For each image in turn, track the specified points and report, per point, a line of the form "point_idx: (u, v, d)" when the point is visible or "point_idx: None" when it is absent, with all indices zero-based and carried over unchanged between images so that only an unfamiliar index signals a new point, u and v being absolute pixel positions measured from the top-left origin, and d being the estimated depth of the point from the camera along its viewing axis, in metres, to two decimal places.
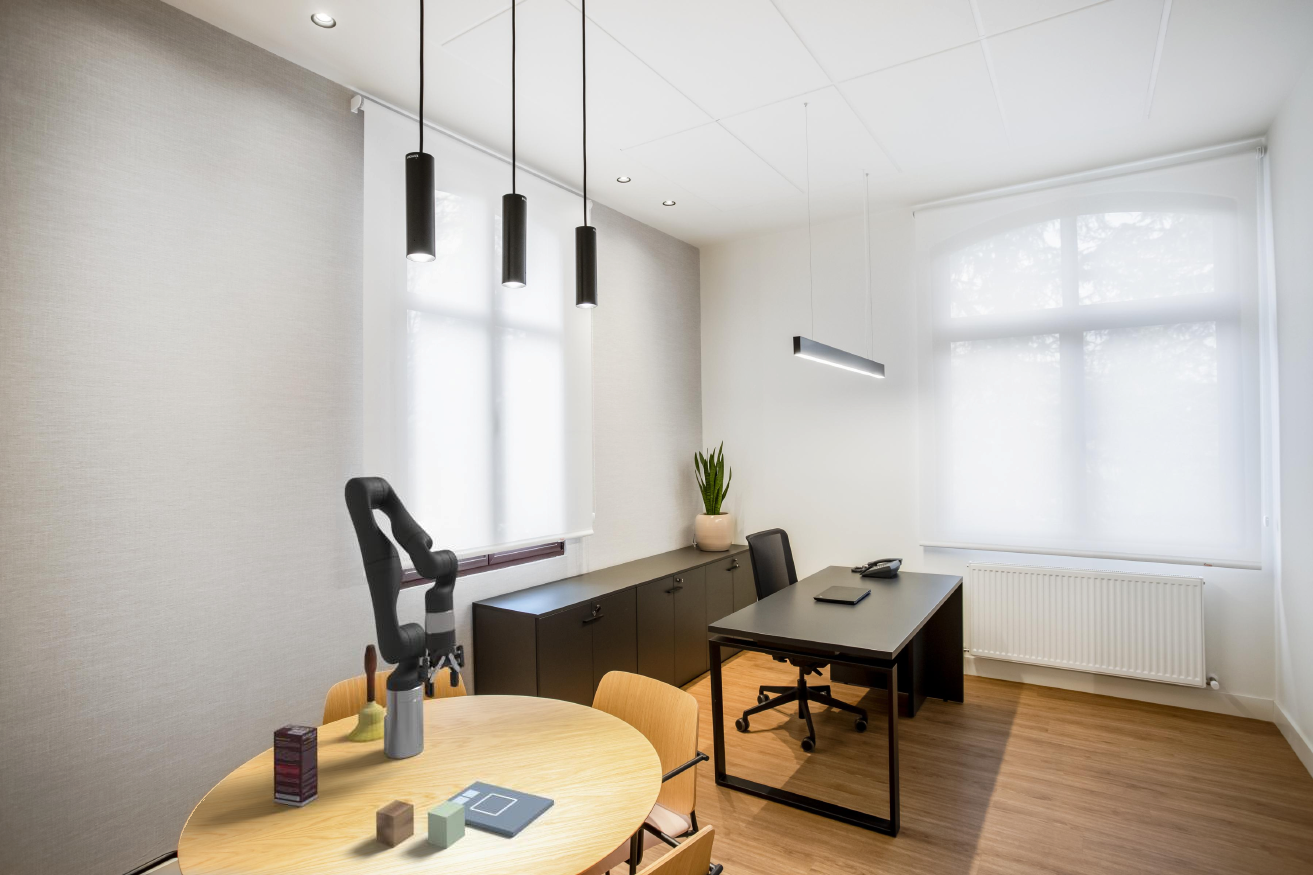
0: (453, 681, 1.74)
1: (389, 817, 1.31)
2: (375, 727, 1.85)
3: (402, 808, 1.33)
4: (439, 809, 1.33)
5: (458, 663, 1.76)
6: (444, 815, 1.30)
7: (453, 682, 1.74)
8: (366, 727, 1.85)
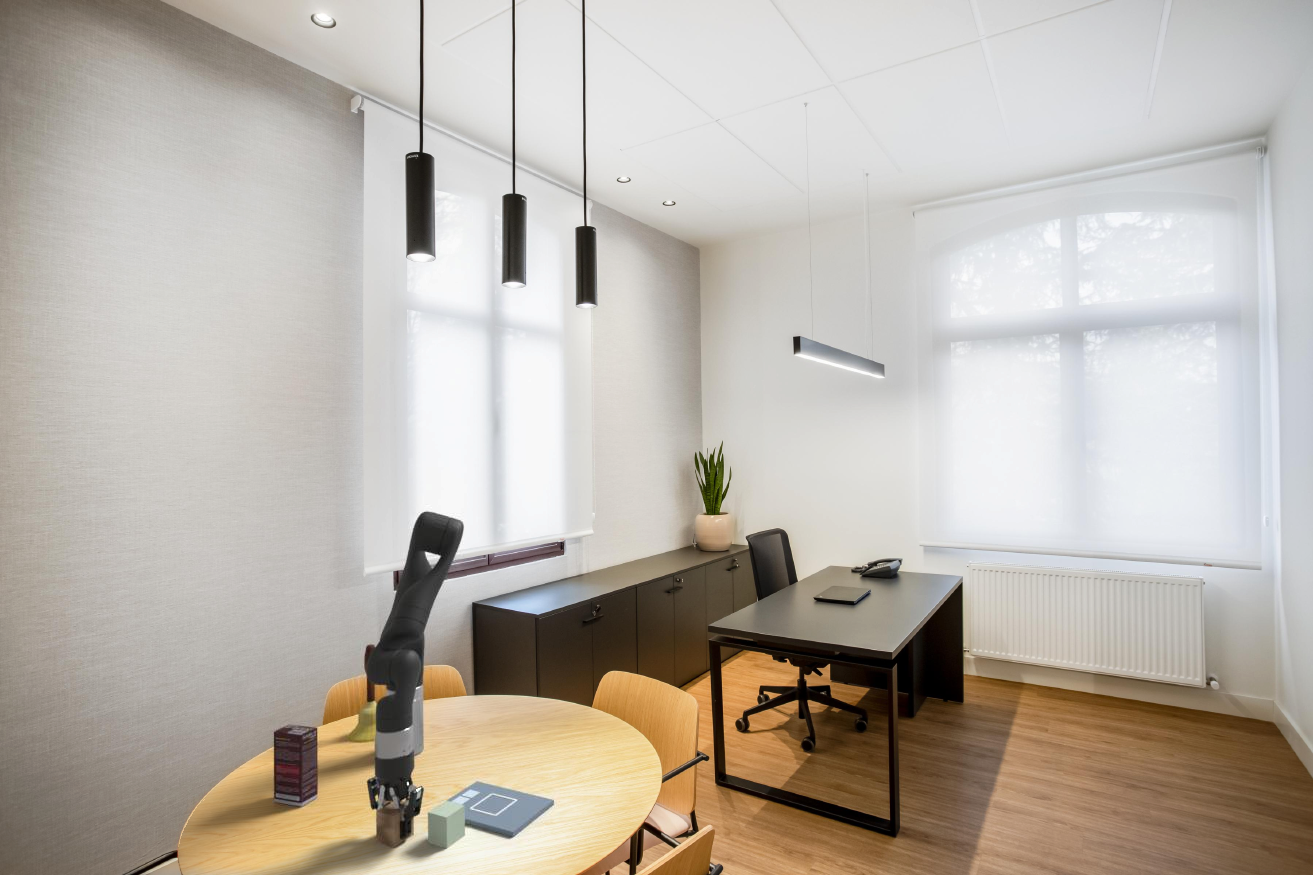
0: None
1: (389, 817, 1.31)
2: (375, 727, 1.85)
3: None
4: (439, 809, 1.33)
5: None
6: (444, 814, 1.30)
7: None
8: (366, 727, 1.85)
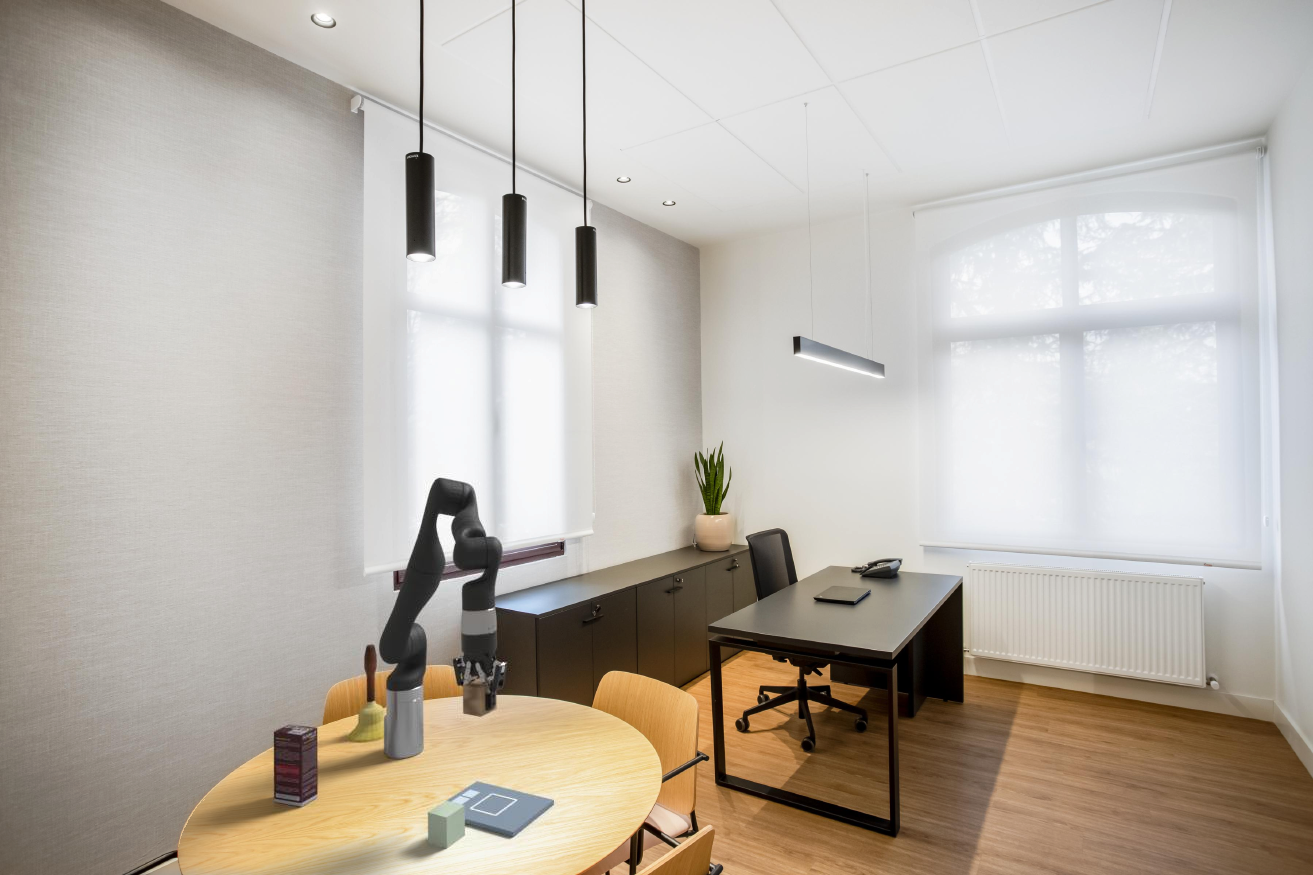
0: None
1: (475, 690, 1.41)
2: (375, 727, 1.85)
3: None
4: (439, 809, 1.33)
5: (464, 679, 1.46)
6: (444, 815, 1.30)
7: None
8: (366, 727, 1.85)
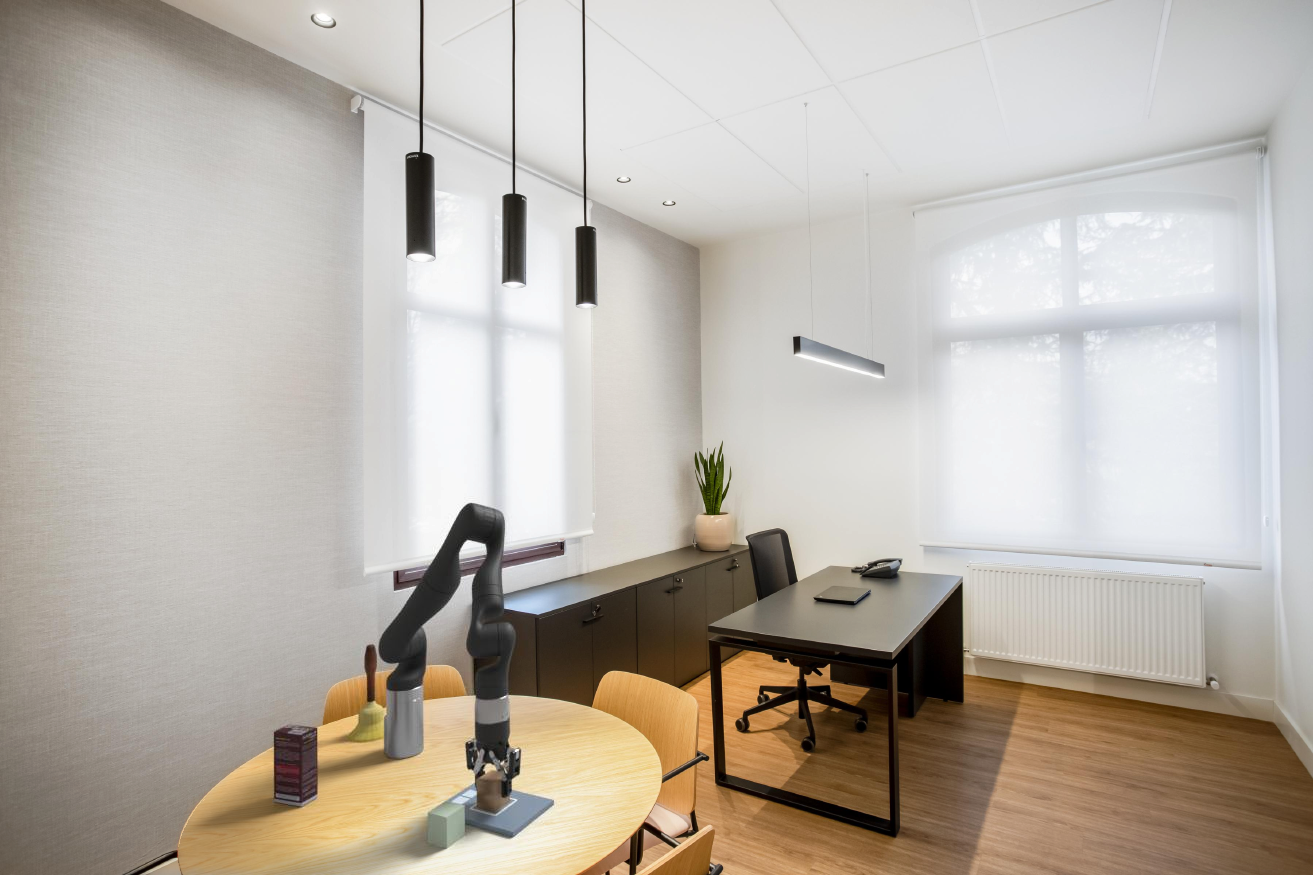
0: None
1: (489, 785, 1.41)
2: (375, 727, 1.85)
3: (500, 777, 1.44)
4: (439, 809, 1.33)
5: (474, 763, 1.47)
6: (444, 815, 1.30)
7: None
8: (366, 727, 1.85)
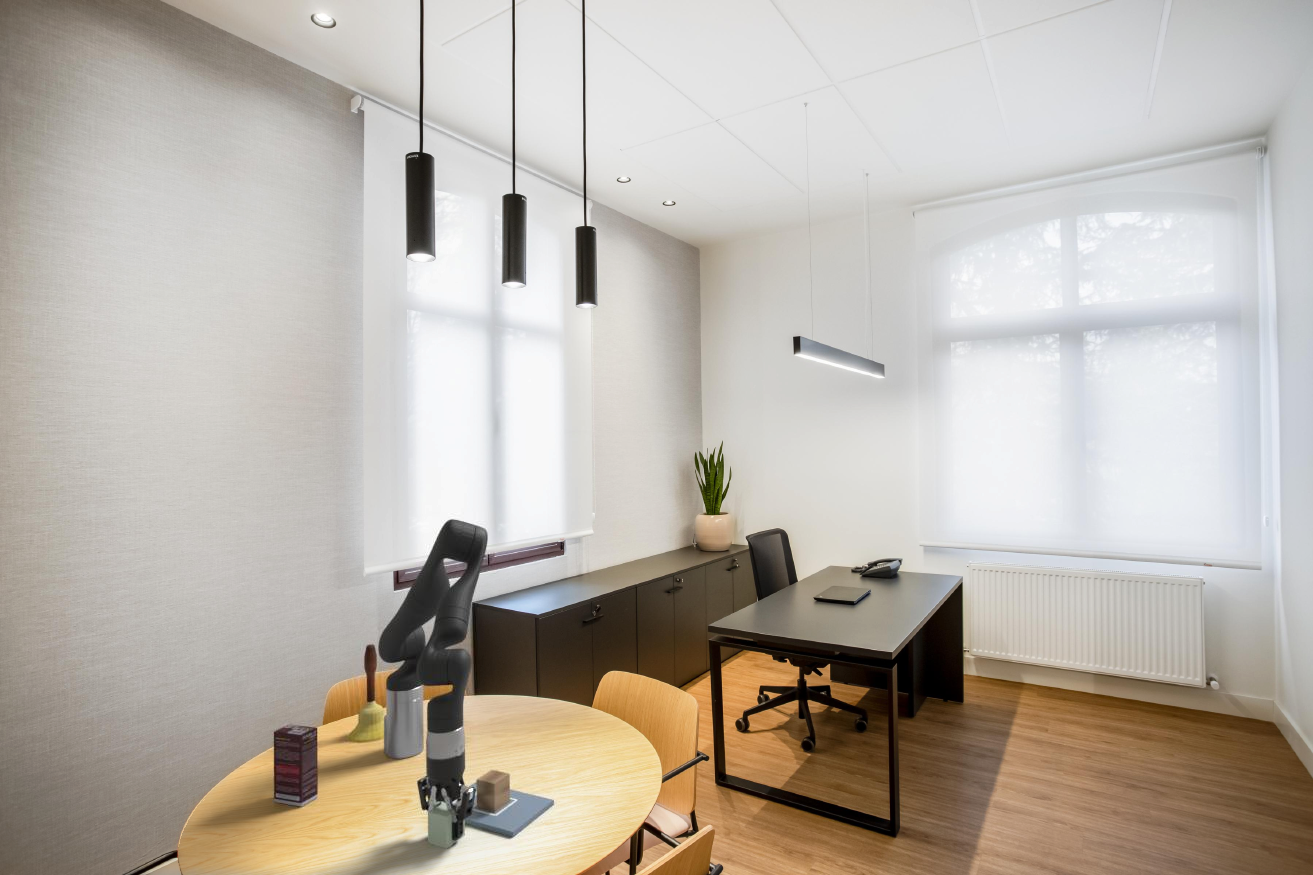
0: None
1: (489, 785, 1.41)
2: (375, 727, 1.85)
3: (500, 777, 1.44)
4: (439, 808, 1.33)
5: None
6: (444, 814, 1.30)
7: None
8: (366, 727, 1.85)
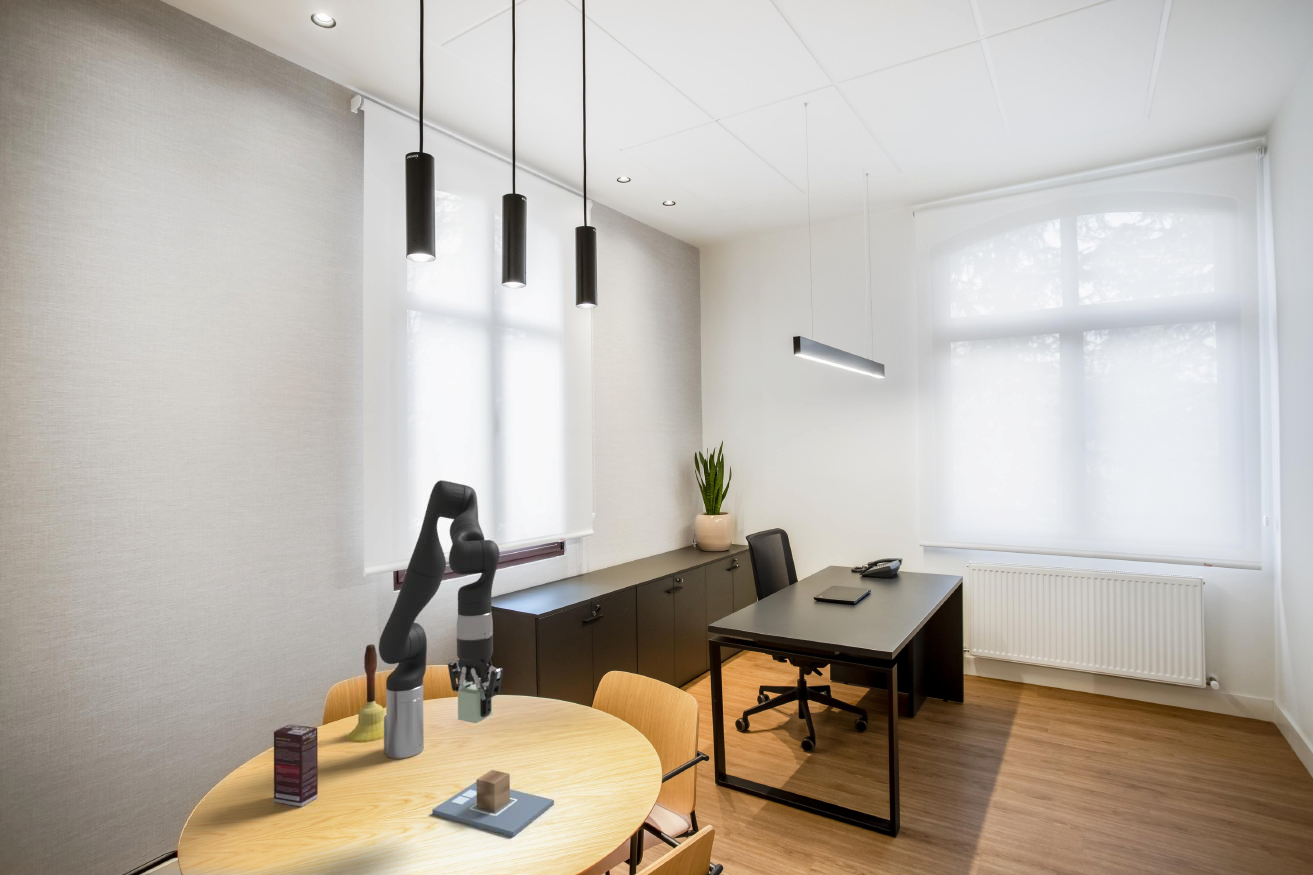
0: None
1: (489, 785, 1.41)
2: (375, 727, 1.85)
3: (500, 777, 1.44)
4: (468, 689, 1.41)
5: (459, 684, 1.44)
6: (473, 692, 1.39)
7: None
8: (366, 727, 1.85)
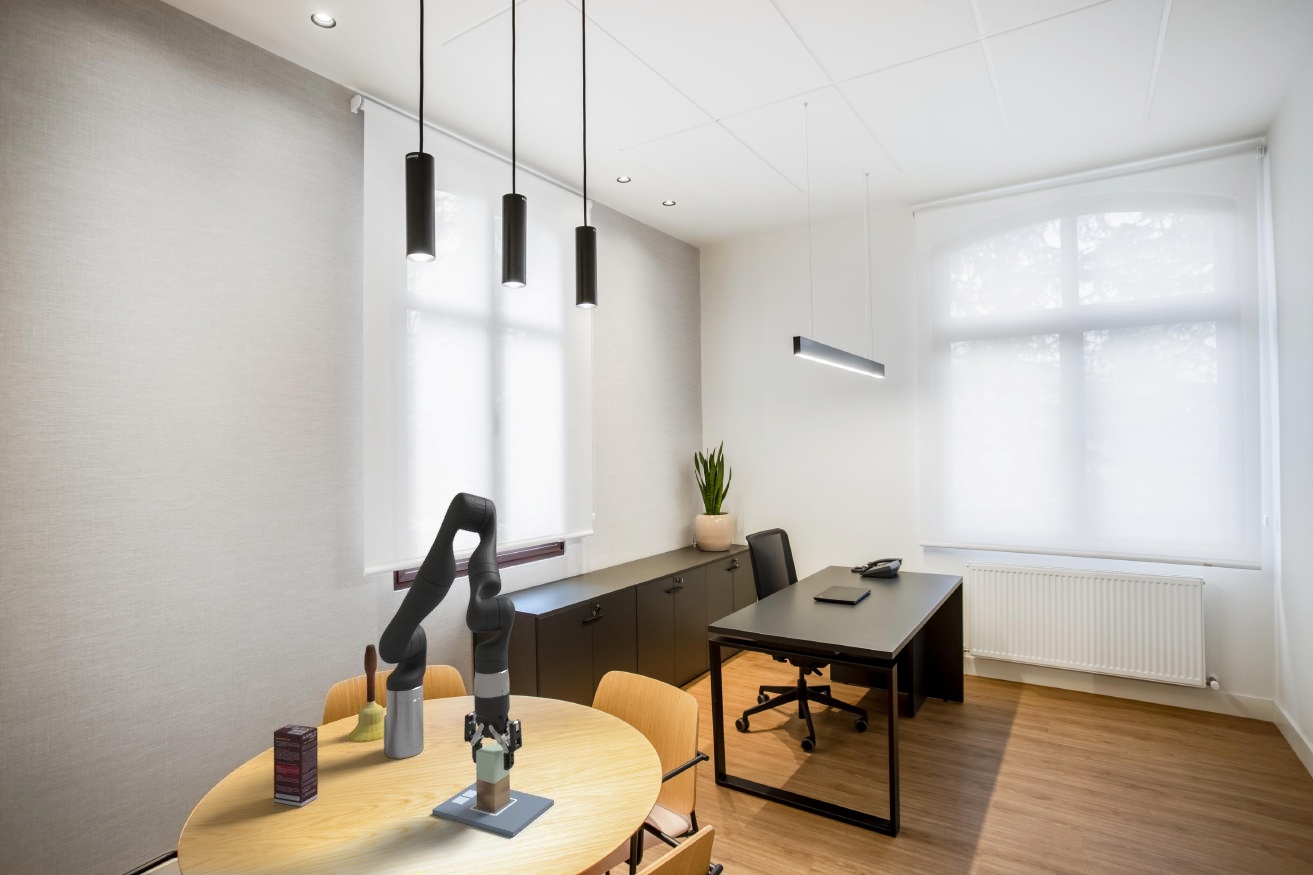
0: None
1: (489, 785, 1.41)
2: (375, 727, 1.85)
3: None
4: (486, 748, 1.44)
5: (471, 735, 1.47)
6: (491, 753, 1.42)
7: None
8: (366, 727, 1.85)
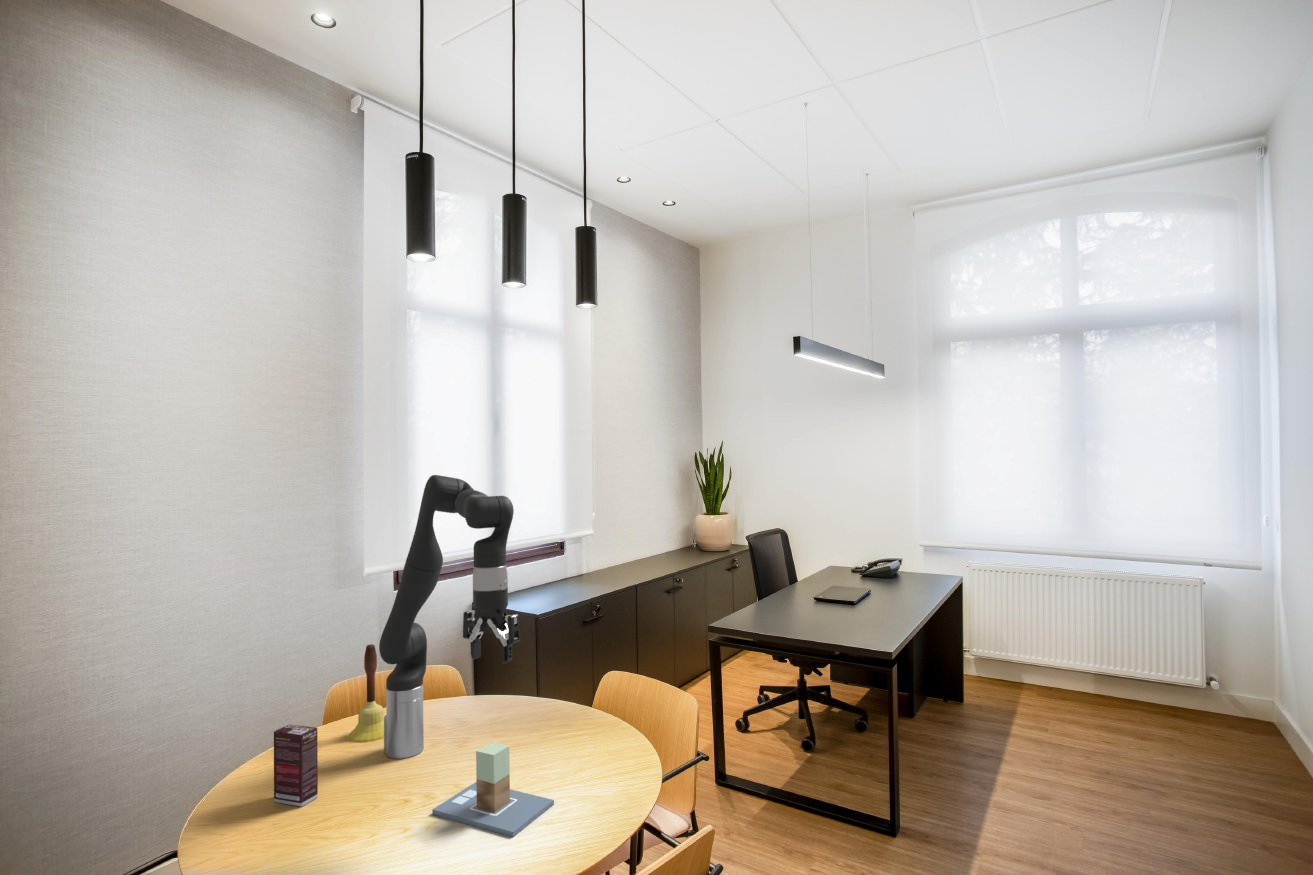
0: (477, 652, 1.47)
1: (489, 785, 1.41)
2: (375, 727, 1.85)
3: None
4: (486, 748, 1.44)
5: (470, 632, 1.48)
6: (491, 753, 1.42)
7: (477, 653, 1.47)
8: (366, 727, 1.85)
